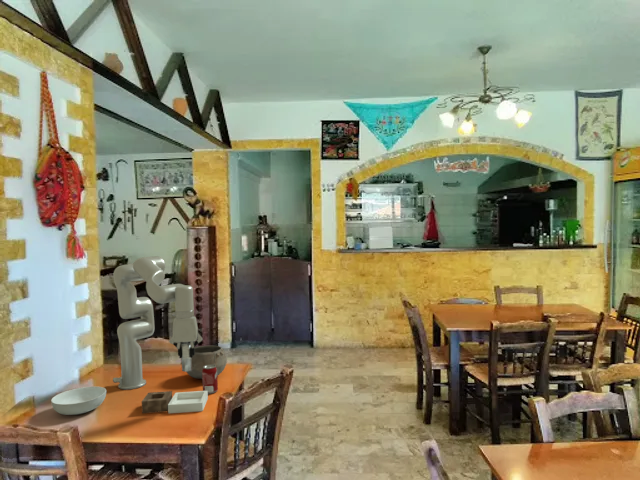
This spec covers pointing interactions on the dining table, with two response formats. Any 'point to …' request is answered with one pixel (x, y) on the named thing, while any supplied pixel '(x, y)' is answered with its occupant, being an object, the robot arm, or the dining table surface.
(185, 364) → the metal pin
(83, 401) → the serving bowl
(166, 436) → the dining table surface
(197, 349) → the clay pot
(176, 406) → the grey tray
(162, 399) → the walnut block
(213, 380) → the soda can
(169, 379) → the dining table surface
